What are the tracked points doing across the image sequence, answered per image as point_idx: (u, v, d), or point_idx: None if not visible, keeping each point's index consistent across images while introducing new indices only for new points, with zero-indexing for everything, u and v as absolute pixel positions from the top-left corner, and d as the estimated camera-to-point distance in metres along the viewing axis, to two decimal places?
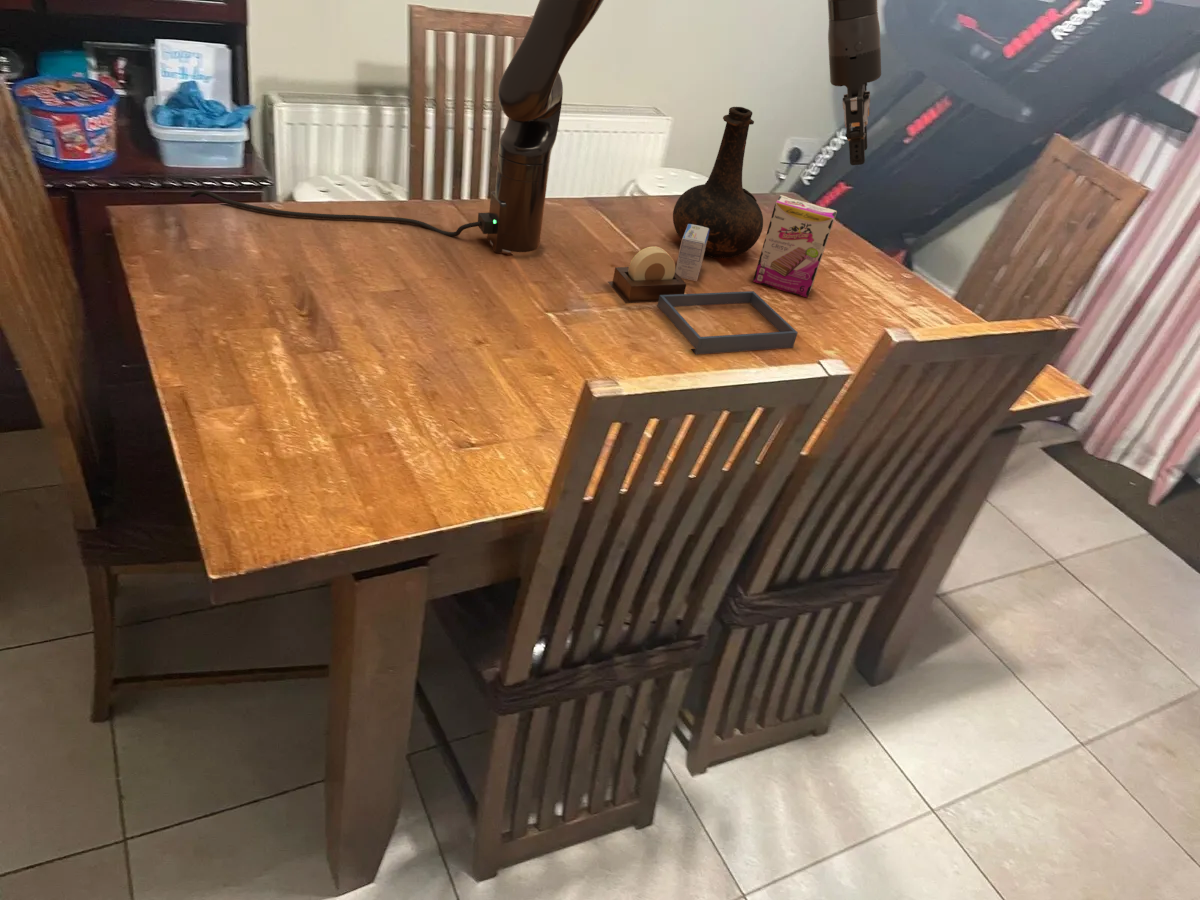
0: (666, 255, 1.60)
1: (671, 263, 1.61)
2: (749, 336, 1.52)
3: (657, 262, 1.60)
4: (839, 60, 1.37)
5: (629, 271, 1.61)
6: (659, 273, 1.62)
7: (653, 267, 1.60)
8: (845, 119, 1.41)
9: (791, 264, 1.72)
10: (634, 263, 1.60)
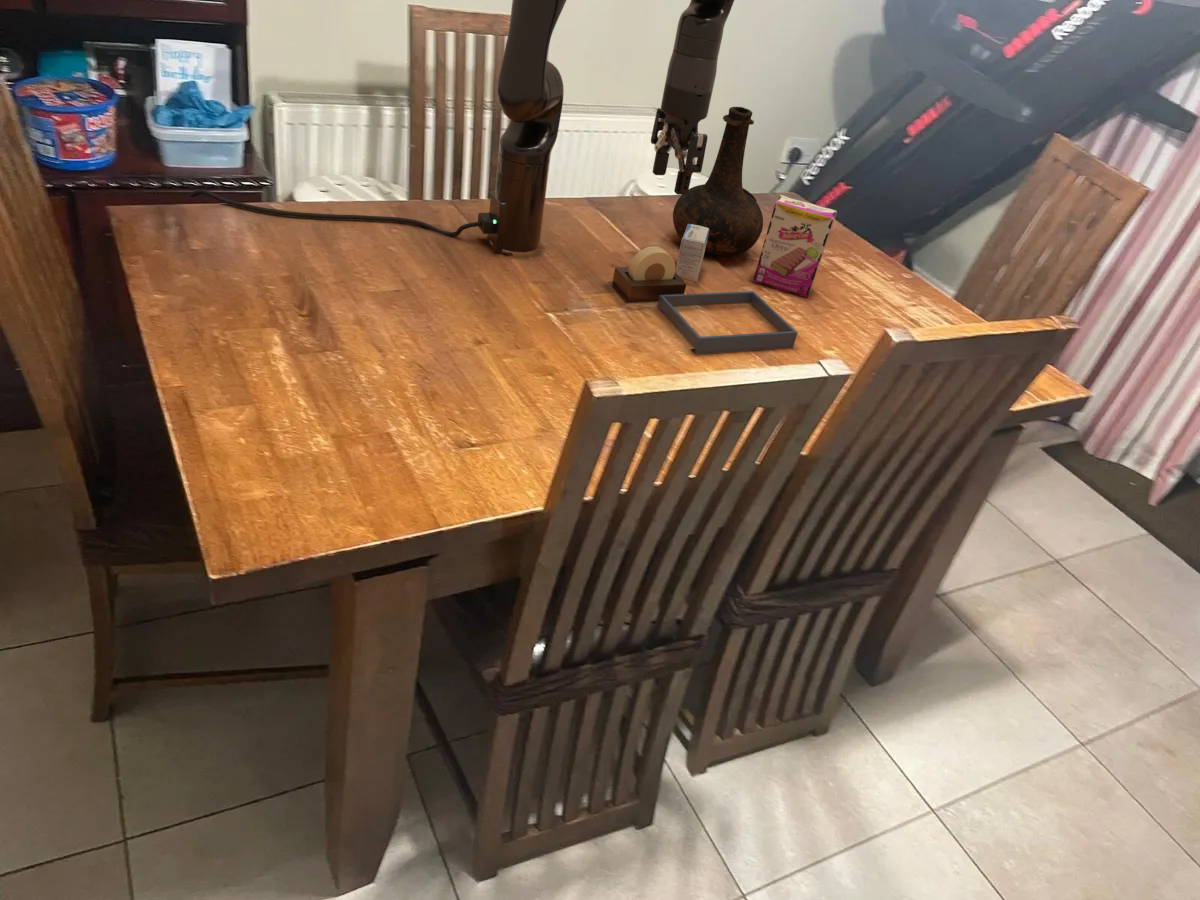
0: (666, 255, 1.60)
1: (671, 263, 1.61)
2: (749, 336, 1.52)
3: (657, 262, 1.60)
4: (685, 94, 1.41)
5: (629, 271, 1.61)
6: (659, 273, 1.62)
7: (653, 267, 1.60)
8: (679, 151, 1.46)
9: (791, 264, 1.72)
10: (634, 263, 1.60)
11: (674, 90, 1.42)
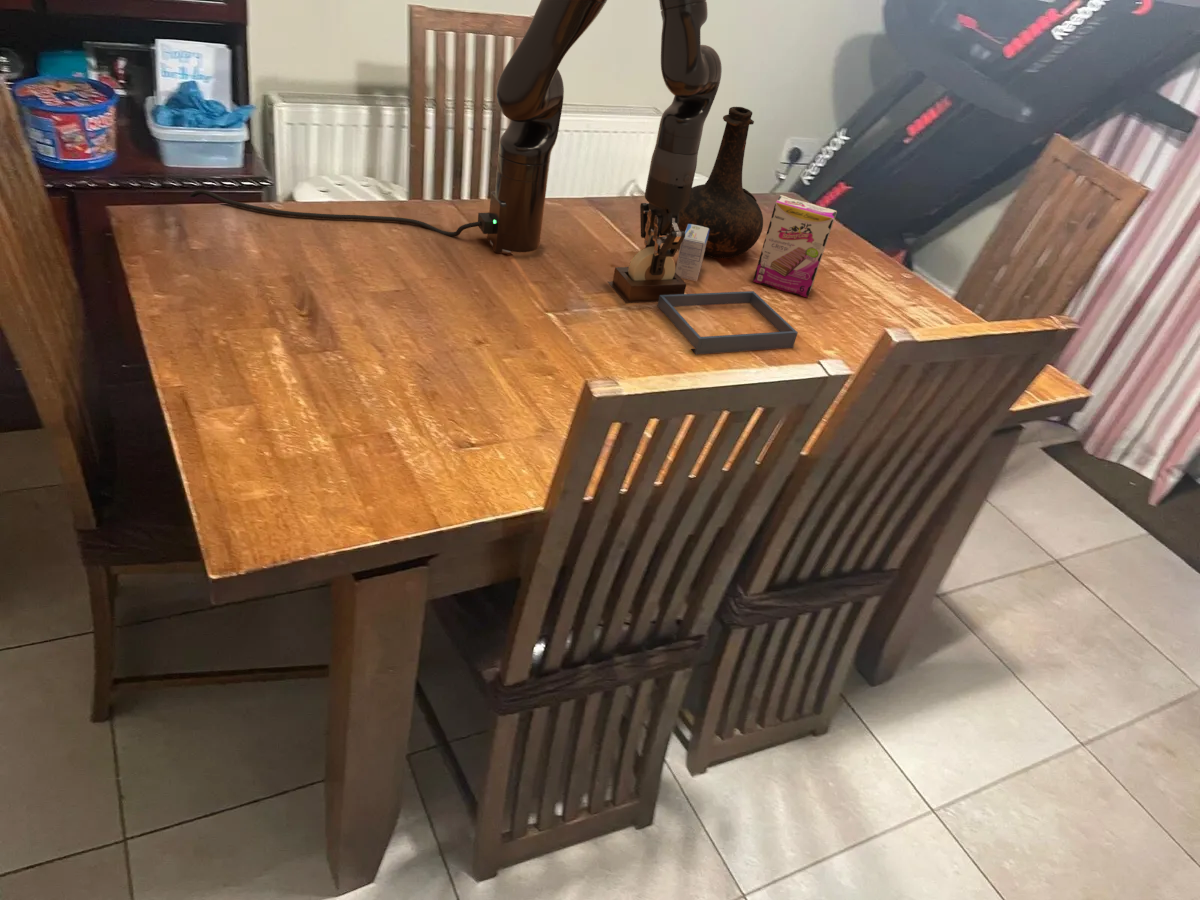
0: None
1: (671, 263, 1.61)
2: (749, 336, 1.52)
3: None
4: (667, 187, 1.50)
5: (629, 271, 1.61)
6: None
7: None
8: (657, 238, 1.56)
9: (791, 264, 1.72)
10: (634, 263, 1.60)
11: (657, 182, 1.50)
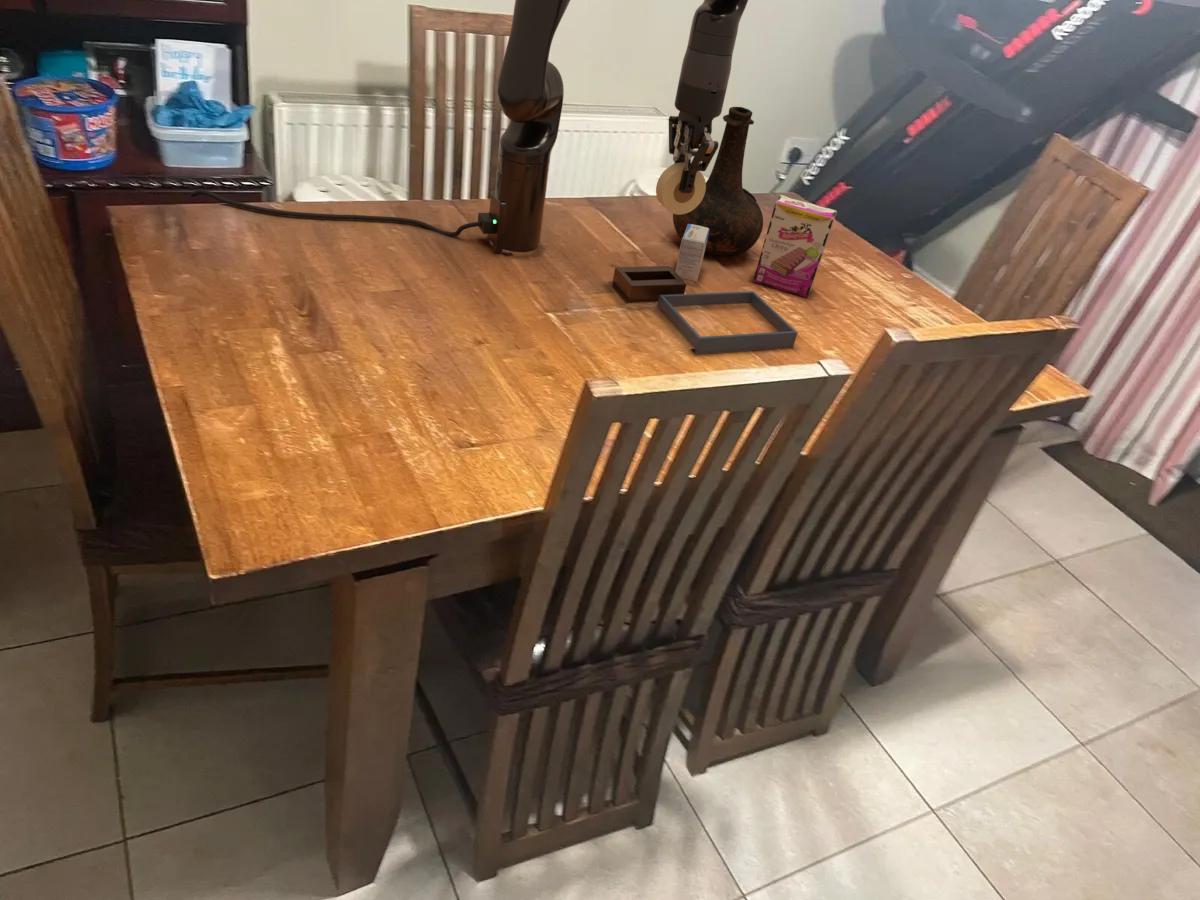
0: None
1: (702, 180, 1.51)
2: (749, 336, 1.52)
3: None
4: (700, 92, 1.40)
5: (657, 189, 1.52)
6: None
7: None
8: (687, 151, 1.46)
9: (791, 264, 1.72)
10: (662, 180, 1.50)
11: (688, 87, 1.40)
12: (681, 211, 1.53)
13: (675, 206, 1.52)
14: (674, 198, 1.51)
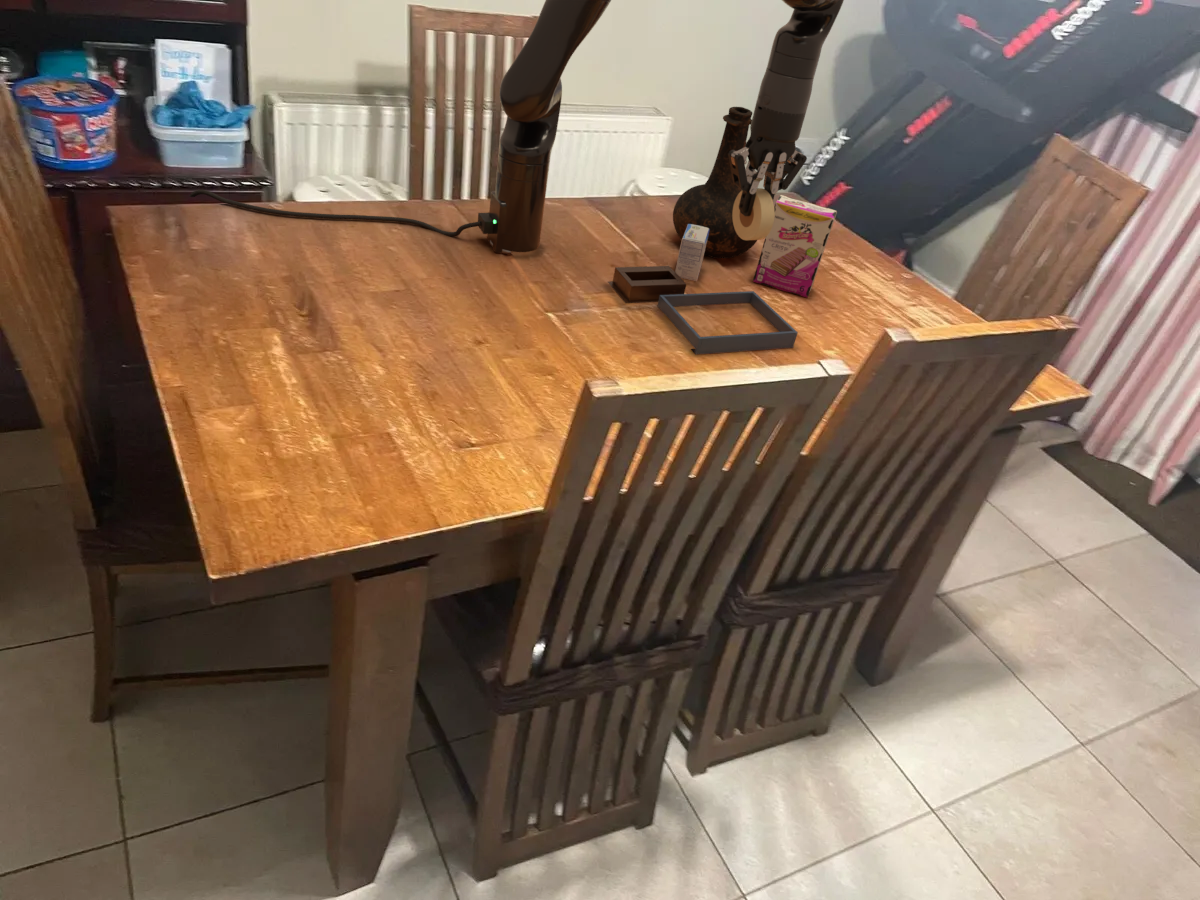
0: (757, 197, 1.43)
1: (759, 210, 1.43)
2: (749, 336, 1.52)
3: None
4: (756, 104, 1.37)
5: None
6: (749, 217, 1.45)
7: None
8: (746, 167, 1.43)
9: (791, 264, 1.72)
10: None
11: None
12: (742, 235, 1.48)
13: (739, 227, 1.48)
14: (739, 217, 1.48)
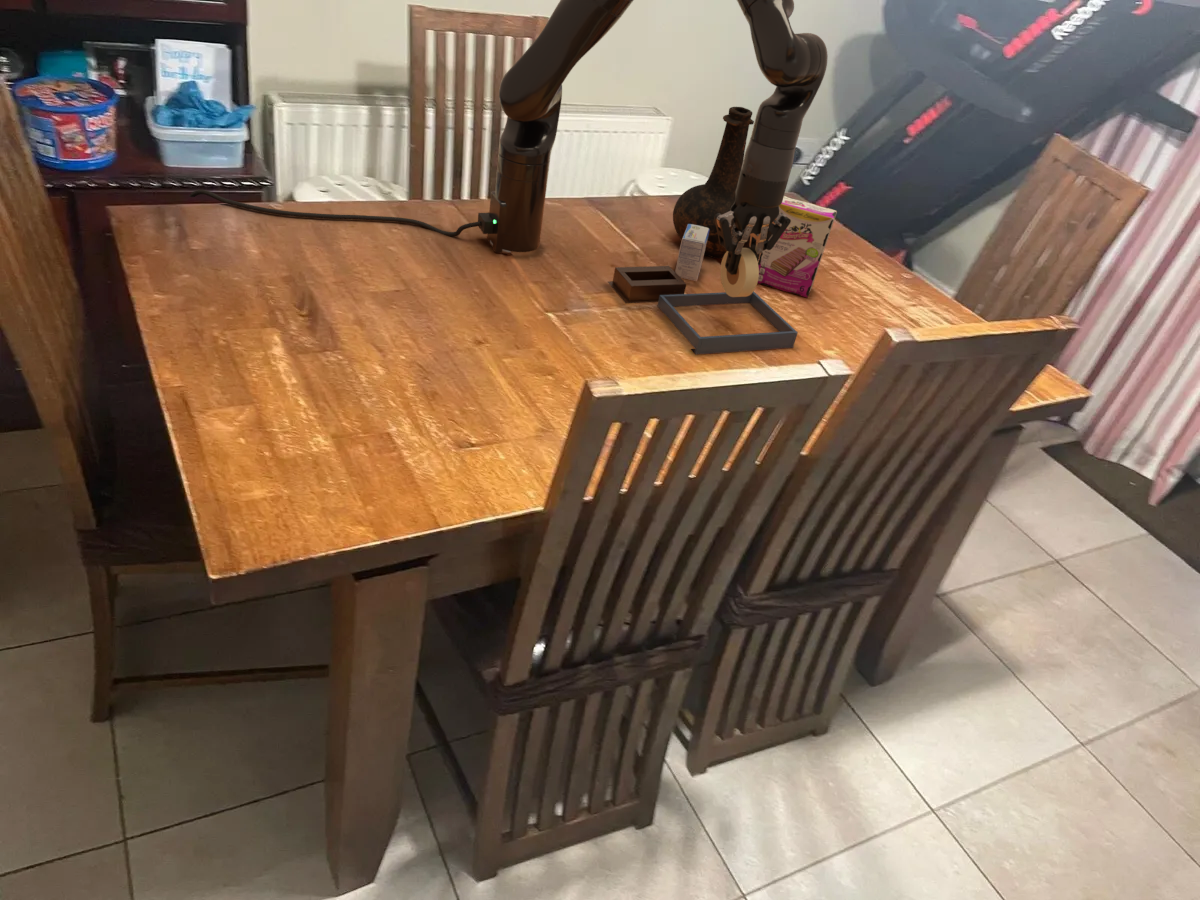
0: (742, 258, 1.49)
1: (743, 270, 1.49)
2: (749, 336, 1.52)
3: None
4: None
5: None
6: (735, 275, 1.52)
7: None
8: (732, 229, 1.49)
9: (791, 264, 1.72)
10: None
11: None
12: (728, 292, 1.54)
13: (726, 284, 1.55)
14: (726, 274, 1.54)
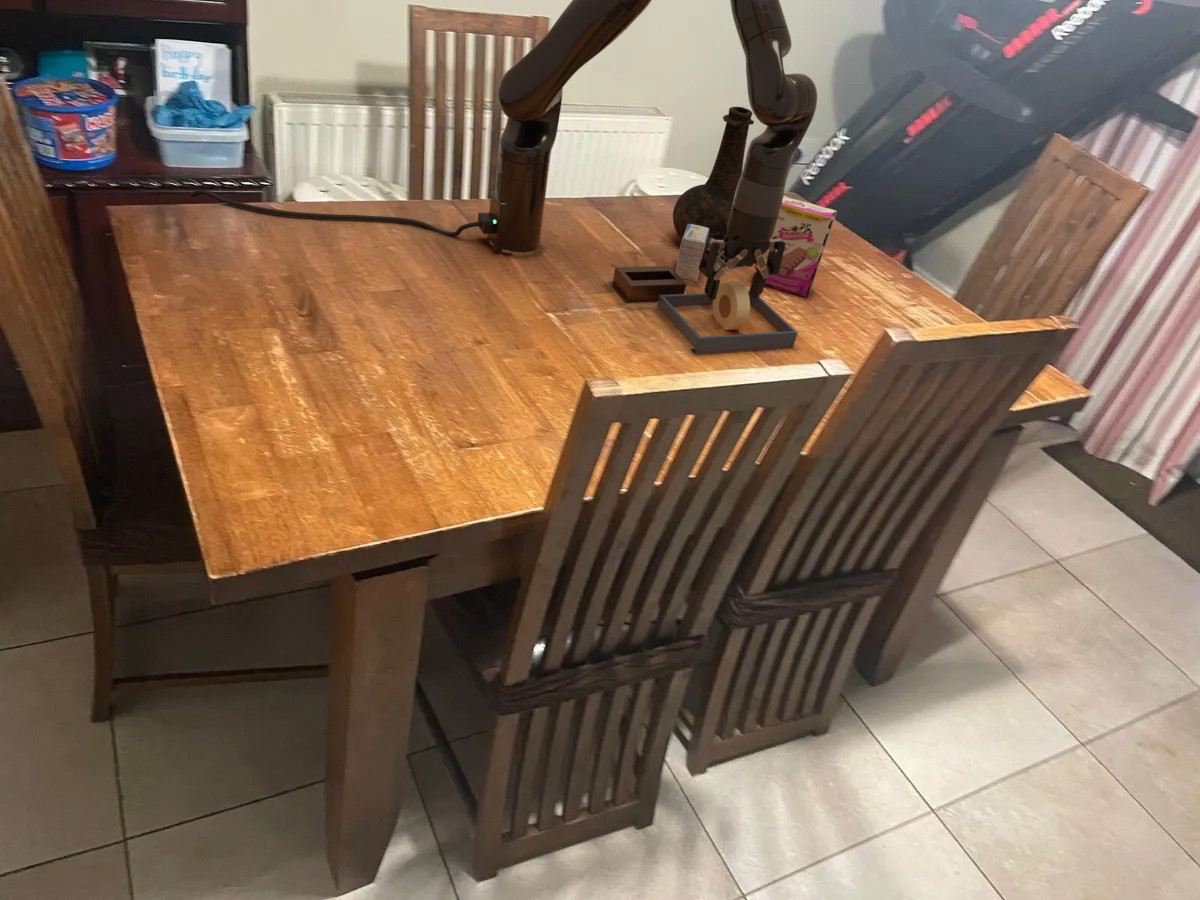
0: (734, 293, 1.53)
1: (735, 305, 1.53)
2: (749, 336, 1.52)
3: (728, 295, 1.55)
4: (732, 205, 1.47)
5: None
6: (727, 309, 1.55)
7: (724, 299, 1.56)
8: (718, 256, 1.51)
9: (791, 264, 1.72)
10: None
11: None
12: (720, 324, 1.58)
13: (718, 316, 1.58)
14: (718, 307, 1.58)
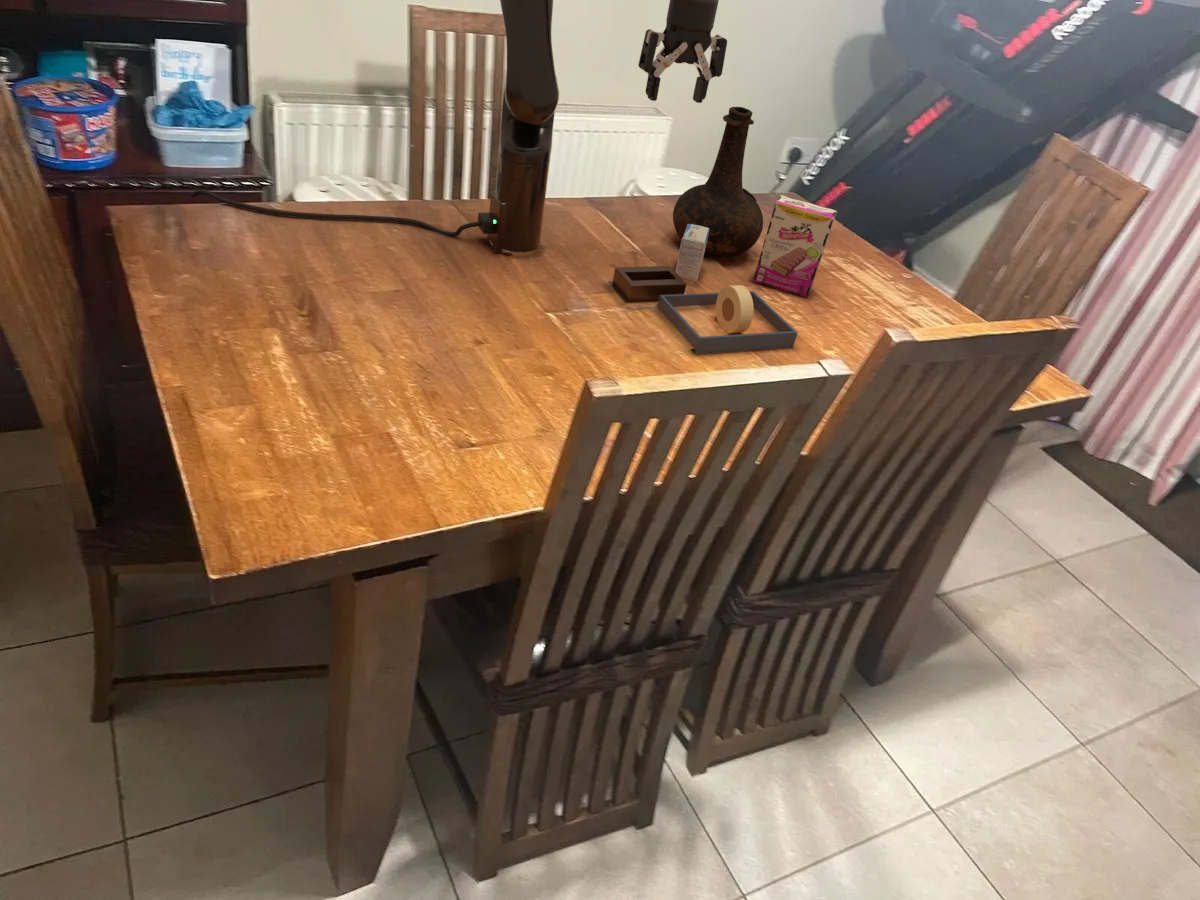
0: (739, 302, 1.52)
1: (738, 315, 1.52)
2: (749, 336, 1.52)
3: (732, 301, 1.53)
4: None
5: None
6: (729, 313, 1.55)
7: (729, 302, 1.55)
8: (658, 53, 1.48)
9: (791, 264, 1.72)
10: None
11: None
12: (721, 324, 1.58)
13: (719, 315, 1.58)
14: (721, 307, 1.57)
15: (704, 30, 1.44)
